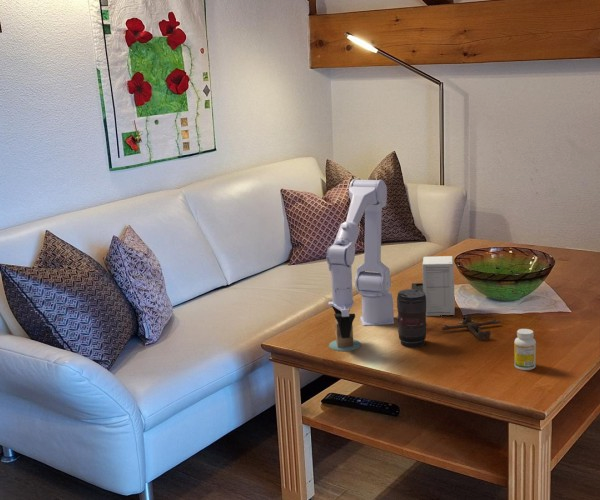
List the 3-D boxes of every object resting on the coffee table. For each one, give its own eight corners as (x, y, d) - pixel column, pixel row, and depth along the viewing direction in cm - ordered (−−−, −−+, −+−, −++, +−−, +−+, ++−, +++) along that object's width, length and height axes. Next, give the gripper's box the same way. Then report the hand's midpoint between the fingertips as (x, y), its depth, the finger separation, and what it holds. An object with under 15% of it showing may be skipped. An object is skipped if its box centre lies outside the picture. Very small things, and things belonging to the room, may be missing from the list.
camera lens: (410, 351, 227) (409, 299, 223) (392, 343, 234) (390, 292, 230) (433, 344, 231) (432, 293, 227) (414, 336, 238) (413, 286, 234)
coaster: (358, 339, 238) (358, 337, 238) (362, 350, 230) (362, 348, 229) (327, 341, 238) (327, 339, 238) (330, 352, 229) (330, 351, 229)
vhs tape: (411, 288, 285) (411, 283, 284) (435, 288, 284) (435, 282, 283) (411, 301, 271) (411, 295, 271) (435, 301, 270) (435, 295, 269)
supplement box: (454, 306, 262) (453, 255, 257) (454, 316, 253) (454, 263, 249) (424, 306, 263) (422, 255, 259) (423, 316, 255) (421, 263, 250)
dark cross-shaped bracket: (454, 335, 229) (436, 314, 243) (454, 349, 231) (435, 327, 244) (515, 327, 233) (493, 307, 246) (514, 341, 234) (492, 320, 247)
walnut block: (351, 341, 236) (350, 317, 234) (353, 346, 232) (352, 322, 230) (336, 342, 236) (335, 318, 234) (337, 347, 231) (336, 324, 230)
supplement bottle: (530, 372, 208) (530, 336, 206) (510, 367, 212) (510, 332, 209) (539, 365, 212) (539, 330, 210) (519, 361, 216) (520, 326, 213)
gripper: (325, 280, 236) (328, 325, 240) (329, 295, 222) (332, 342, 226) (350, 278, 237) (352, 323, 240) (355, 293, 223) (358, 341, 226)
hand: (344, 332), depth 233 cm, fingers open, 7 cm apart
